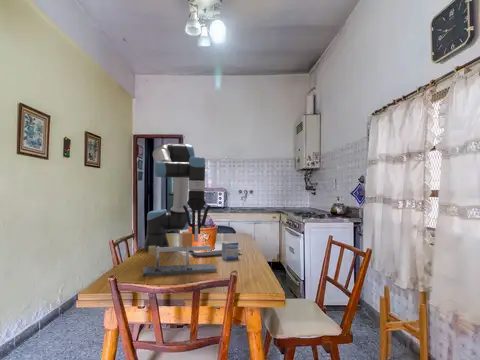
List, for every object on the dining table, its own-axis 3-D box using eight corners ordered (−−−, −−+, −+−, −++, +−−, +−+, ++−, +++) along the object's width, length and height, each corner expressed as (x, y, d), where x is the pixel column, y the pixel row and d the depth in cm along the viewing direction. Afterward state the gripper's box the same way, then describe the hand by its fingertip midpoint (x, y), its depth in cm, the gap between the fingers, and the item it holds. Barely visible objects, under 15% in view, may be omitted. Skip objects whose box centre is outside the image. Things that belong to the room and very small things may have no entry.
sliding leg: (181, 264, 148) (182, 231, 148) (190, 263, 149) (191, 231, 149) (183, 267, 142) (183, 233, 142) (191, 266, 143) (192, 233, 143)
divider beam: (148, 266, 143) (148, 245, 143) (209, 263, 150) (210, 242, 150) (148, 269, 137) (148, 247, 138) (211, 266, 145) (212, 245, 145)
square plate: (185, 248, 196) (185, 242, 196) (227, 246, 206) (227, 240, 206) (194, 258, 170) (194, 251, 171) (242, 255, 180) (242, 248, 180)
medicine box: (225, 260, 166) (226, 243, 166) (221, 258, 170) (221, 242, 170) (238, 258, 171) (238, 242, 171) (234, 256, 174) (234, 241, 174)
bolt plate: (143, 270, 145) (143, 266, 145) (212, 266, 154) (212, 262, 154) (143, 276, 136) (143, 272, 136) (216, 272, 144) (216, 268, 144)
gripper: (183, 190, 142) (182, 243, 141) (212, 190, 145) (211, 242, 145) (181, 190, 149) (181, 240, 149) (209, 190, 152) (208, 239, 152)
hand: (196, 241), depth 147 cm, fingers closed
